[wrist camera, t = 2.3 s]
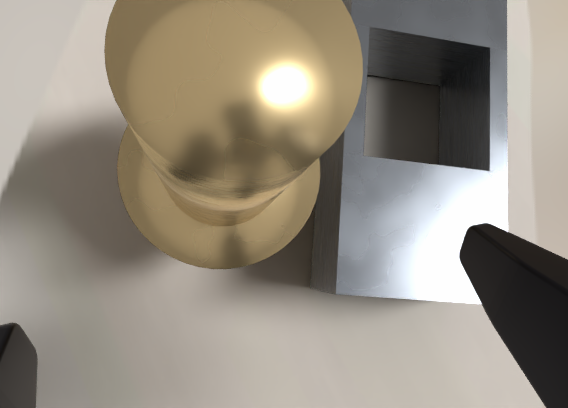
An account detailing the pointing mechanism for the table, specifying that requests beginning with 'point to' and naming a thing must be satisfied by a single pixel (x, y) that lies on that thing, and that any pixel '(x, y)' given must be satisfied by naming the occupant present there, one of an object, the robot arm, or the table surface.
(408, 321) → the table surface
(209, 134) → the brass pin
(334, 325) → the table surface
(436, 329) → the table surface
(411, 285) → the steel hitch block
